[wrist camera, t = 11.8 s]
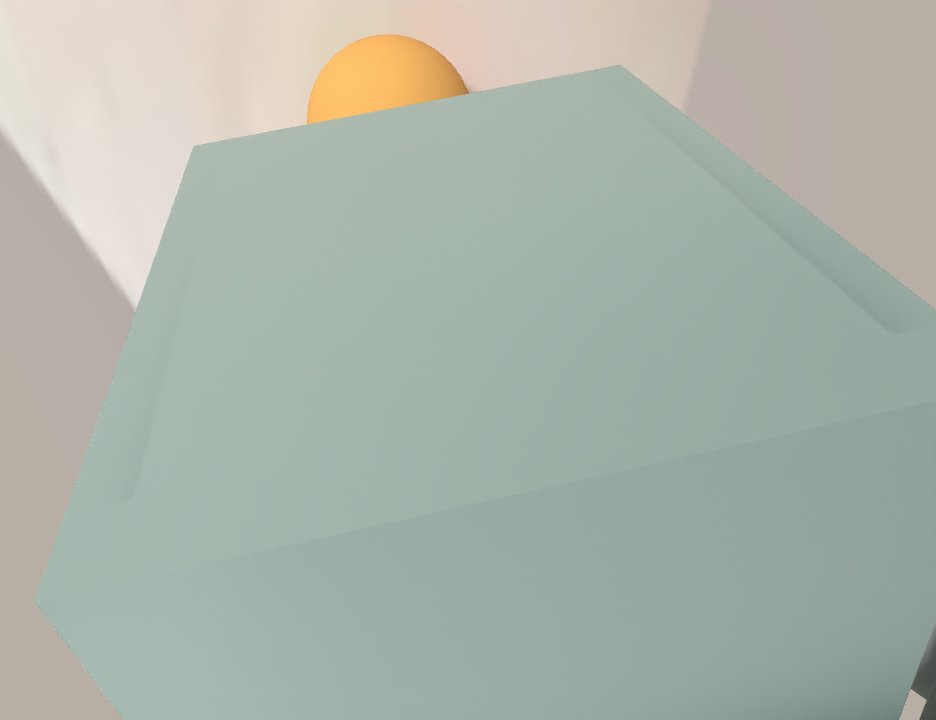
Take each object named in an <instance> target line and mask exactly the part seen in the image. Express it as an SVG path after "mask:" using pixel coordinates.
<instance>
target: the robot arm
mask: <svg viewBox="0 0 936 720" xmlns="http://www.w3.org/2000/svg"><path fill="white" fill-rule="evenodd" d="M911 689H912V690H914V691H915V692H916V693H918V694H919V695H921V696H922V697H924V698H925V699H926V700H927V701H926V704H925V706H924V709H923V712H922V714H921V717H920V720H936V622H935V625H934V627H933V630H932V633H931V635H930V638H929V641H928V643H927V646H926V649H925V651H924V654H923V657H922V659H921V662H920V665H919V667H918V670H917V673H916V675H915V678H914V681H913V683H912V686H911Z"/></svg>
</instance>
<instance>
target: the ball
mask: <svg viewBox="0 0 936 720" xmlns="http://www.w3.org/2000/svg"><path fill="white" fill-rule="evenodd" d="M465 94H469V93H468V90H467V88H466V86H465V84H464V82H463V80H462V78H461V76H460V75H459V73H458V72H457V70H456V69H455V68H454V67H453V65H452V64H451V63H450V62H449V61H448V60H447V59H446V58H445V57H444V56H443V55H441V54H440V53H439V52H438V51H436V50H435V49H434V48H432V47H430V46H429V45H427V44H425V43H423V42H421V41H418V40H416V39H413V38H409V37H405V36H400V35H377V36H372V37H367V38H364V39H361V40H358V41H356V42H354V43H352V44H350V45H348V46H346V47H345V48H344V49H342V50H341V51H339V52H338V53H337V54H336V55H335V56H333V57H332V58H331V59H330V61H329V62H328V63H327V64H326V66H325V67H324V68H323V69H322V71H321V73H320V74H319V76H318V78H317V80H316V81H315V84H314V87H313V89H312V92H311V95H310V99H309V105H308V112H307V124H312V123H318V122H323V121H328V120H333V119H339V118H344V117H349V116H354V115H360V114H365V113H370V112H375V111H381V110H386V109H391V108H396V107H402V106H407V105H412V104H417V103H423V102H428V101H433V100H438V99H444V98H449V97H454V96H459V95H465Z"/></svg>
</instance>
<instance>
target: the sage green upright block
mask: <svg viewBox="0 0 936 720" xmlns="http://www.w3.org/2000/svg"><path fill="white" fill-rule="evenodd" d="M35 603H36V604H37V605H38V607H39V608H40V609H41V611H42V612H43V613H44V615H45V616H46V617H47V619H48V620H49V621H50V623H51V624H52V625H53V627H54V628H55V629H56V631H57V632H58V633H59V634H60V636H61V637H62V639H63V640H64V641H65V642H66V644H67V645H68V646H69V648H70V649H71V650H72V652H73V653H74V654H75V656H76V657H77V658H78V660H79V661H80V662H81V663H82V665H83V666H84V668H85V669H86V670H87V671H88V673H89V674H90V676H91V677H92V678H93V679H94V681H95V682H96V683H97V685H98V686H99V687H100V689H101V690H102V691H103V693H104V694H105V695H106V697H107V698H108V699H109V701H110V702H111V703H112V704H113V706H114V707H115V709H116V710H117V711H118V713H119V714H120V715H121V716H122V718H123V719H124V720H899V718H900V715H901V713H902V710H903V707H904V704H905V702H906V699H907V696H908V694H909V691H910V689H911V686H912V683H913V681H914V678H915V675H916V673H917V670H918V667H919V665H920V662H921V659H922V657H923V654H924V651H925V649H926V646H927V643H928V641H929V638H930V635H931V633H932V630H933V627H934V625H935V622H936V310H935V309H934V308H932V307H931V306H930V305H928V304H927V303H926V302H925V301H923V300H922V299H921V298H920V297H918V296H917V295H916V294H914V293H913V292H912V291H910V290H909V289H908V288H907V287H905V286H904V285H903V284H902V283H900V282H899V281H898V280H896V279H895V278H894V277H893V276H891V275H890V274H889V273H887V272H886V271H884V269H882V268H881V267H880V266H878V265H877V264H876V263H875V262H873V261H872V260H871V259H869V258H868V257H867V256H866V255H864V254H863V253H862V252H860V251H859V250H858V249H857V248H855V247H854V246H853V245H851V244H850V243H849V242H848V241H846V240H845V239H844V238H842V237H841V236H840V235H839V234H837V233H836V232H834V231H833V230H832V229H831V228H829V227H828V226H827V225H826V224H824V223H823V222H822V221H820V220H819V219H818V218H817V217H815V216H814V215H813V214H811V213H810V212H809V211H808V210H806V209H805V208H804V207H803V206H801V205H800V204H798V203H797V202H796V201H795V200H793V199H792V198H791V197H790V196H788V195H787V194H786V193H784V192H783V191H782V190H780V189H779V188H778V187H777V186H775V185H774V184H773V183H772V182H770V181H769V180H768V179H766V178H765V177H764V176H762V175H761V174H760V173H759V172H757V171H756V170H755V169H754V168H752V167H751V166H750V165H748V164H747V163H746V162H745V161H743V160H742V159H741V158H739V157H738V156H737V155H736V154H734V153H733V152H732V151H730V150H729V149H728V148H727V147H725V146H724V145H723V144H721V143H720V142H719V141H717V140H716V139H715V138H714V137H712V136H711V135H710V134H709V133H707V132H706V131H705V130H703V129H702V128H701V127H700V126H698V125H697V124H696V123H694V122H693V121H692V120H691V119H689V118H688V117H687V116H685V115H684V114H683V113H682V112H680V111H679V110H678V109H676V108H675V107H674V106H673V105H671V104H670V103H669V102H667V101H666V100H665V99H664V98H662V97H661V96H660V95H658V94H657V93H656V92H655V91H653V90H652V89H651V88H649V87H648V86H647V85H646V84H644V83H643V82H642V81H640V80H639V79H638V78H637V77H635V76H634V75H633V74H631V73H630V72H629V71H628V70H626V69H625V68H624V67H622V66H621V65H617V66H612V67H607V68H601V69H596V70H591V71H586V72H580V73H575V74H570V75H565V76H559V77H554V78H549V79H544V80H538V81H533V82H528V83H523V84H517V85H512V86H507V87H501V88H496V89H491V90H486V91H480V92H475V93H470V94H465V95H459V96H454V97H449V98H444V99H438V100H433V101H428V102H423V103H417V104H412V105H407V106H402V107H396V108H391V109H386V110H381V111H375V112H370V113H365V114H360V115H354V116H349V117H344V118H339V119H333V120H328V121H323V122H318V123H312V124H307V125H302V126H297V127H291V128H286V129H281V130H276V131H270V132H265V133H260V134H254V135H249V136H244V137H239V138H233V139H228V140H223V141H218V142H212V143H207V144H202V145H197V146H194V147H193V150H192V153H191V155H190V158H189V161H188V164H187V167H186V170H185V173H184V175H183V178H182V181H181V184H180V187H179V190H178V193H177V195H176V198H175V201H174V204H173V207H172V210H171V213H170V215H169V218H168V221H167V224H166V227H165V230H164V233H163V235H162V238H161V241H160V244H159V247H158V250H157V253H156V256H155V258H154V261H153V264H152V267H151V270H150V273H149V276H148V278H147V281H146V284H145V287H144V290H143V293H142V296H141V298H140V301H139V304H138V307H137V310H136V313H135V316H134V319H133V321H132V324H131V327H130V330H129V333H128V336H127V338H126V341H125V344H124V347H123V350H122V353H121V356H120V359H119V361H118V364H117V367H116V370H115V373H114V376H113V379H112V382H111V384H110V387H109V390H108V393H107V396H106V399H105V401H104V404H103V407H102V410H101V413H100V416H99V419H98V422H97V424H96V427H95V430H94V433H93V436H92V439H91V441H90V444H89V447H88V450H87V453H86V456H85V459H84V462H83V465H82V467H81V470H80V473H79V476H78V479H77V482H76V484H75V487H74V490H73V493H72V496H71V499H70V502H69V505H68V507H67V510H66V513H65V516H64V519H63V522H62V524H61V527H60V530H59V533H58V536H57V539H56V542H55V544H54V547H53V550H52V553H51V556H50V559H49V562H48V564H47V567H46V570H45V573H44V576H43V579H42V582H41V584H40V588H39V590H38V593H37V596H36V599H35Z"/></svg>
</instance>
